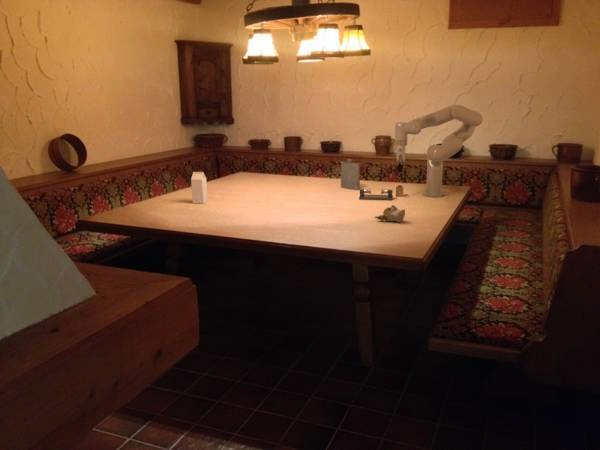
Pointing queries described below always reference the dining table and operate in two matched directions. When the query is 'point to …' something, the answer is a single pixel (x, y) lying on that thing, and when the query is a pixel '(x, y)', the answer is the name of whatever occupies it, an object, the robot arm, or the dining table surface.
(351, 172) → the hip flask
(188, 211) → the dining table surface
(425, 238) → the dining table surface
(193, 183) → the milk carton
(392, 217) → the ceramic sculpture
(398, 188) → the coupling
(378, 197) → the shaft rig
